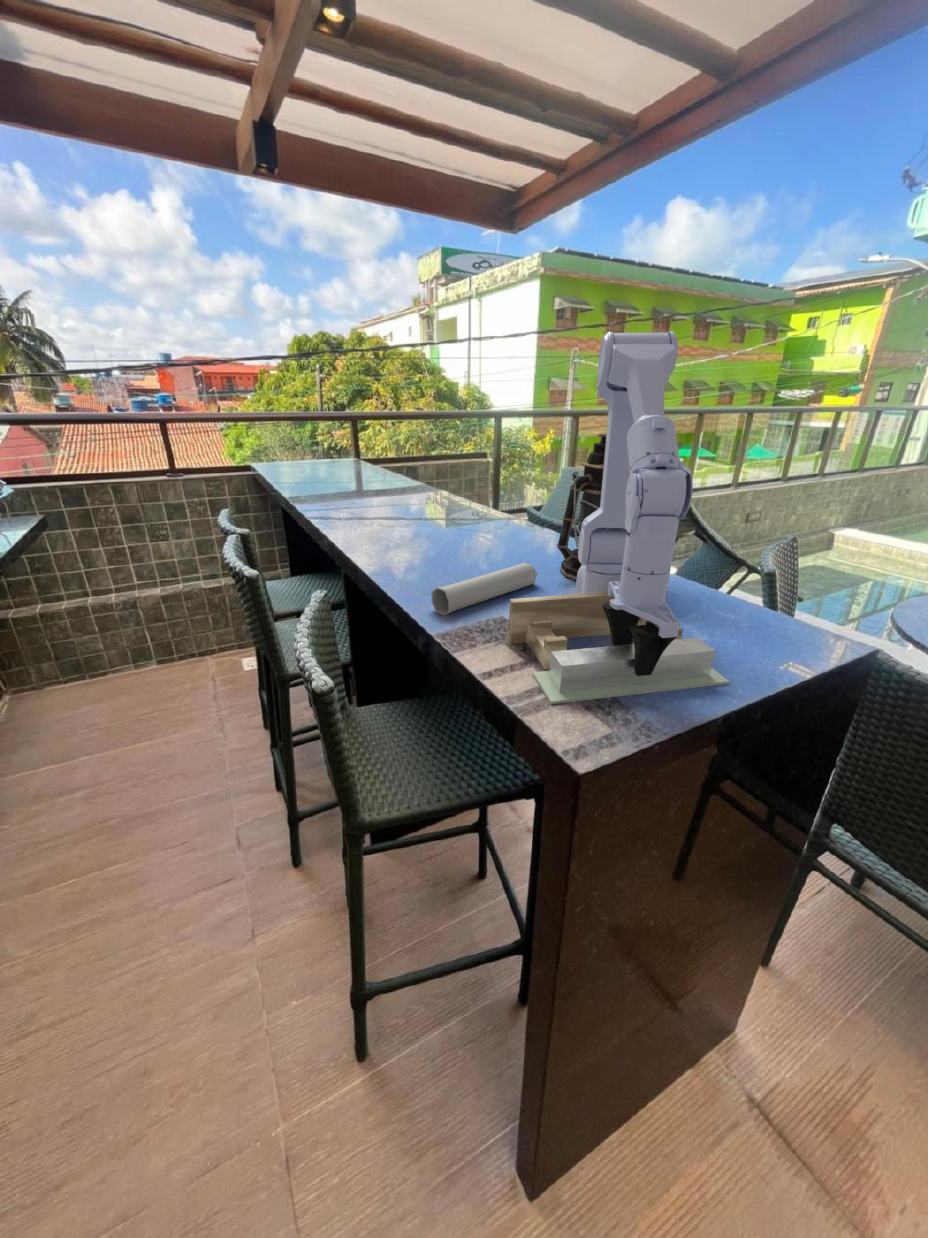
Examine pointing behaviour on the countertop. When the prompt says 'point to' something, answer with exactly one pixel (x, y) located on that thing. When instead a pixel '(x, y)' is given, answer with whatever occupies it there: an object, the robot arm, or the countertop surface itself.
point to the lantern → (582, 505)
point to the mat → (623, 688)
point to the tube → (482, 588)
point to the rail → (627, 665)
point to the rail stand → (559, 621)
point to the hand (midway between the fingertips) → (631, 662)
